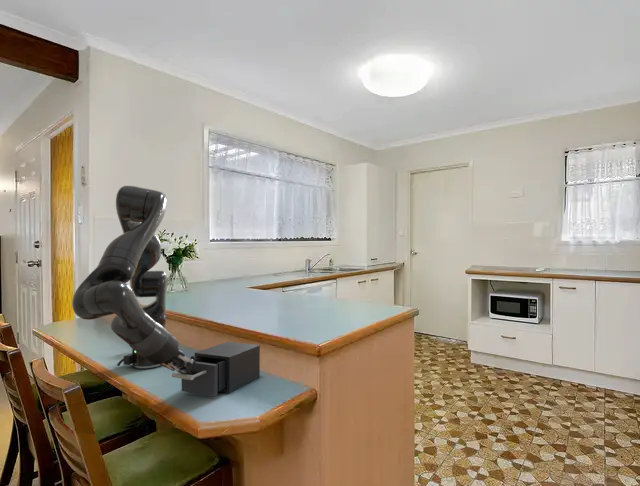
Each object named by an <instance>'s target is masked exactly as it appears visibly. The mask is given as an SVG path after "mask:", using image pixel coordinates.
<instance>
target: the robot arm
mask: <svg viewBox="0 0 640 486" xmlns="http://www.w3.org/2000/svg"><path fill="white" fill-rule="evenodd" d="M167 203H168V202H167V196H166V194H165V193H164V192H162V191H159V190H156V189H152V188H151V189H150V188H146V187H139V186H137V185H136V186H135V185H123V186H121V187H119V189H118V191H117V193H116V197H115V210H116V215H117V218H118V221H119V224H120V227H121V230H122V233H121V235H119V236H117V237H115V238H114V239H113V240H112V241H110V243H109V244H108V245H107V247H106V248H105V250H104V252H103V254H102V255H101V258H100V260H99V261H98V265H97V266H96V267H95V268H94V269H93V270H92V271H91V272H90V273H89V274H88V275H87V276H86V278H85V279H84V280H83V281H82V283H80V284H79V286H78V287H77V289H76V290H75V292H74V294H73V297H72V301H71V305H72V307H71V308H72V310H73V312H74V314H75V315H76V316H77V317H78V318H80V319H82V320H86V321H87V320H96V319H101V318H103V317H107V316H111V315H115V316H114V317H112V320H111V322H110V329H111V331H112V333H114V334H115V335H117V337H119V339H121V340H122V341H124V342H125V343H126V344H128V346H129V347H130V348H131V351H132V352H131V353H128V354H126V355H124V356H123V358H122V359H120V360H119V361H118V363H117V364H116V366H118V367H120V365H121V364H122V363H123V365H124V366H130V365H131V366H132V367H133V368H135V369H139V370H146V369H147V370H148V369H153V368H158V367H161V366H162V367H164V368H166V369H168V370H170V371H172V372H176V373H182V374H187V375H195V374H197V371H196V370H194V369H193V367H194V365H195V361H196V358H195V355H191V356H189V357H187V356H186V355H185V353H184V352H183V351H182V350H181V349H179V341H178V339H177V338H176V337H175V336H174V335H173V334H172V333H171V332H169V331H168V330H167V315H166V314H167V311H166V310H167V309H166V307H167V306H166V299H167V286H168V278H167V273H166V272H165V271H164V270H151V269H152V268H154V266H156V265H157V264H158V262H160V259H161V257H162V248H161V247H162V246H161V241H160V239H159V237H158V236H157V235H156V232H157V230H158V229H159V227H160V225H161V223H162V222H163V219H164V218H165V214H166V211H167V206H168V205H167ZM128 282H129V284H128ZM138 298H155V299H154V300H153V301H152V302H150V303H148V304H146V305H143V306H142V305H141V303H140V301H139V300H138Z"/></svg>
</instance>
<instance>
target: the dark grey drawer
mask: <svg viewBox="0 0 640 486" xmlns="http://www.w3.org/2000/svg"><path fill="white" fill-rule="evenodd" d="M193 369H194V370H196V371H197V374H195V375H187V374H182V373H178V372H172V374H171V377H172V378H175V379H181V392H187V393H192V394H197V395H198V394H199V395H204V396H210V397H216V396H218V395H219V394H218V392H219V391H220V390H222V389H224V388H226V387H227V360H224V359H216V358H208V357H198V358H196V361H195V365H194V367H193Z"/></svg>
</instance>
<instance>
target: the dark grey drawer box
mask: <svg viewBox="0 0 640 486" xmlns="http://www.w3.org/2000/svg"><path fill="white" fill-rule="evenodd" d="M260 348H261V345H260V344H253V343H252V344H250V343H241V342H232V341H226V342H222V343H220V344H216V345H214V346H210V347H208V348H205V349H202V350H199V351H196V352H194V357H195V358H198V357H208V358H216V359H224V360H227V387H226V388H224V389H222V390H220V391H218V392H221V393H226V394H231V393H233V392H234V391H236V390H238V389H240V388H242V387H244V386H246V385H247V384H250V383H252V382H254V381H255V380H257V379H259V378H260V376H261V375H260V368H261V364H260V363H261V362H260V361H261V359H260V358H261V357H260V356H261V349H260Z"/></svg>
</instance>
